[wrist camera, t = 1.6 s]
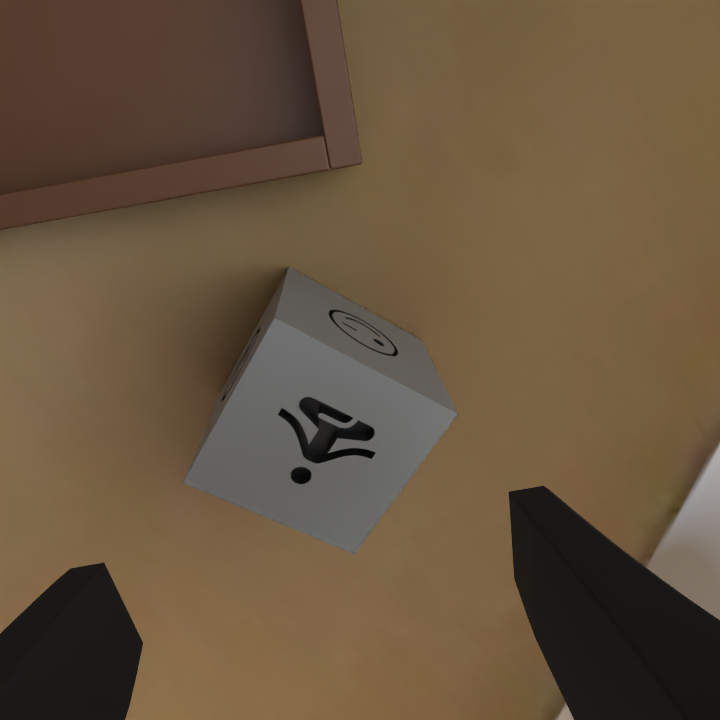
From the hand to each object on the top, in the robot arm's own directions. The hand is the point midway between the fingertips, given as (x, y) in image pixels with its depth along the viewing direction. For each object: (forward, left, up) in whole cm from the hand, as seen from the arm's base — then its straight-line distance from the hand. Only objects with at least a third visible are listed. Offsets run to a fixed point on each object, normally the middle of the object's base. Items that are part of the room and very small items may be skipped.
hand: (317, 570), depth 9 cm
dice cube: (0, 0, -9) cm, 9 cm away
